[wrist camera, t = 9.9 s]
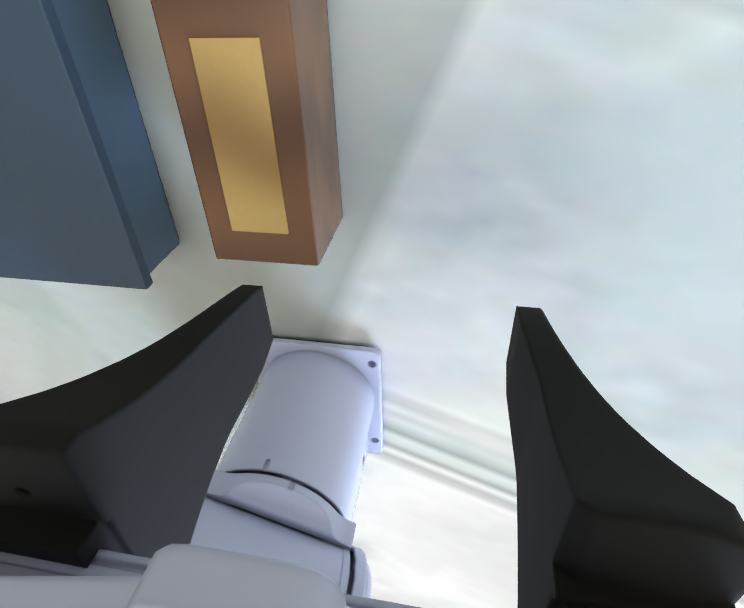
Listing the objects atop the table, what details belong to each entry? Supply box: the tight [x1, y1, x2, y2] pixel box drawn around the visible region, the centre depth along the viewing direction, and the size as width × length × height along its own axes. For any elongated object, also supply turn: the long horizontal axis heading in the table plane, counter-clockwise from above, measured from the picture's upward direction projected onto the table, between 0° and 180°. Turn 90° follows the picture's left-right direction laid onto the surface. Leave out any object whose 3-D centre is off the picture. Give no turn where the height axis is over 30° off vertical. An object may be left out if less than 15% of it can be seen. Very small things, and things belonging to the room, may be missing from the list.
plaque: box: [151, 0, 343, 266], centre depth 20 cm, size 10×5×5 cm, turn 2°
